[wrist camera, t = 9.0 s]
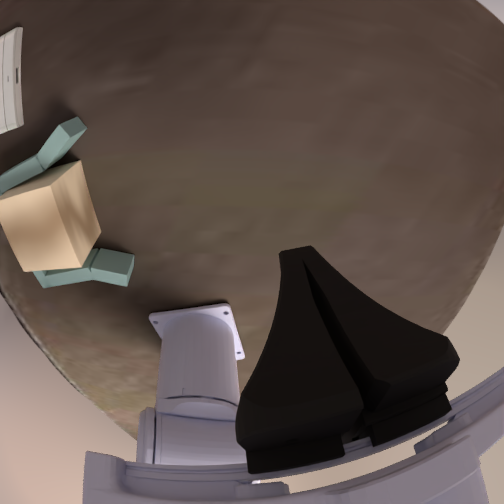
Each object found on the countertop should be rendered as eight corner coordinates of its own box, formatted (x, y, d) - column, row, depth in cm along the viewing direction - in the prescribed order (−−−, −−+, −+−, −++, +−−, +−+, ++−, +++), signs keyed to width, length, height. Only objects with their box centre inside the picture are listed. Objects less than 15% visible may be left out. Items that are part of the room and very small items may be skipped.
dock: (139, 265, 21) (132, 285, 19) (59, 279, 21) (50, 297, 19) (83, 113, 14) (65, 121, 12) (1, 158, 14) (-17, 170, 12)
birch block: (101, 230, 19) (81, 267, 16) (47, 238, 19) (24, 271, 15) (81, 159, 16) (50, 185, 12) (25, 176, 15) (-8, 202, 12)
